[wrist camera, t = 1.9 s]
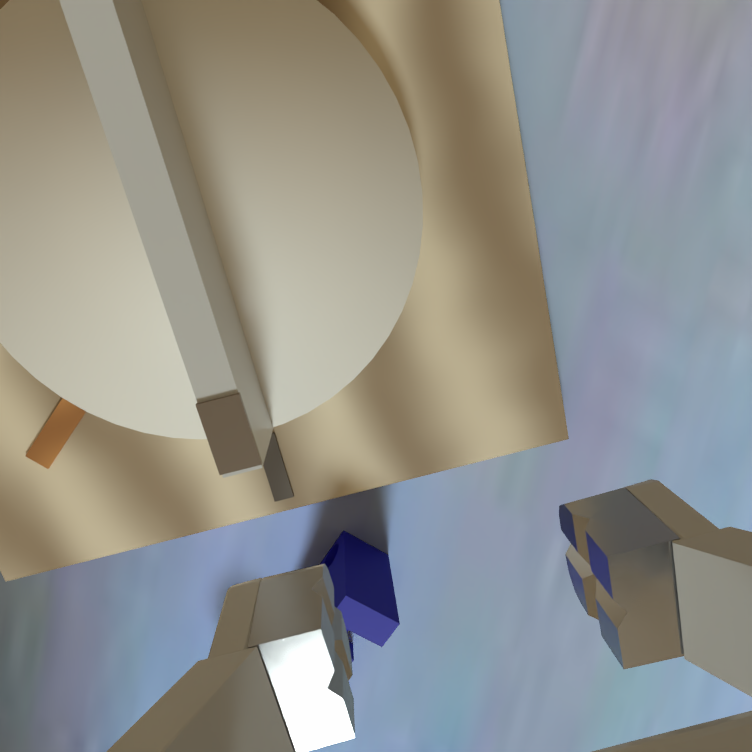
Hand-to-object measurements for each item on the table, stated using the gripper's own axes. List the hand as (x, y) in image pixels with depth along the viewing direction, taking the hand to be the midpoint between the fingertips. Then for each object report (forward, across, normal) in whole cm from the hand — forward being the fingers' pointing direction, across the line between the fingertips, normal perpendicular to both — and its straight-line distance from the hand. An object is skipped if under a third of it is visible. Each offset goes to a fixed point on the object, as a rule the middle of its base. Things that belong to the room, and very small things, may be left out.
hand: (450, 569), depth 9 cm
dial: (+19, +6, -7) cm, 22 cm away
